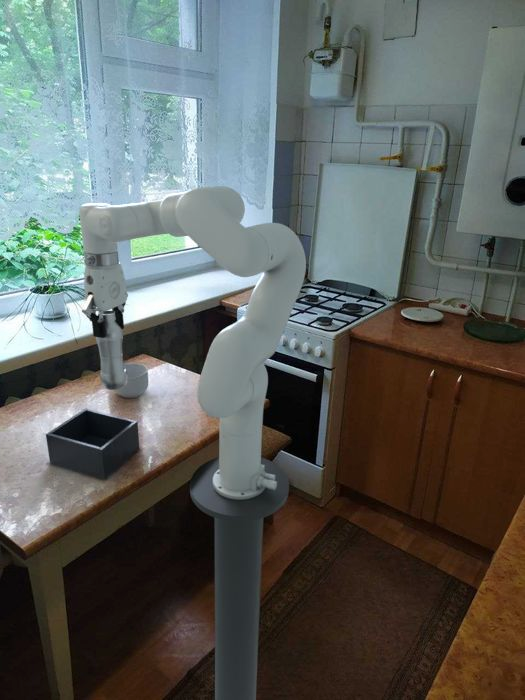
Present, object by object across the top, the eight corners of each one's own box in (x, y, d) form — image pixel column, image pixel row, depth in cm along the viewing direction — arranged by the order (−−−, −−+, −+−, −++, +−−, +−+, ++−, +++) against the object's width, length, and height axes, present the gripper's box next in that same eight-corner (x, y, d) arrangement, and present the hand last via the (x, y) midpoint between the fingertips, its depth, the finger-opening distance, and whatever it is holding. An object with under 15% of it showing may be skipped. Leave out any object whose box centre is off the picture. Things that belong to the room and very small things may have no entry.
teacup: (154, 396, 150) (153, 372, 147) (119, 405, 144) (117, 380, 141) (137, 379, 160) (136, 356, 157) (104, 386, 154) (102, 363, 151)
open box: (139, 449, 123) (137, 421, 120) (104, 480, 112) (101, 449, 109) (88, 435, 128) (85, 408, 125) (50, 463, 117) (45, 434, 114)
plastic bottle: (118, 395, 122) (110, 318, 115) (95, 390, 124) (86, 314, 117) (133, 384, 128) (126, 310, 121) (111, 380, 130) (103, 307, 123)
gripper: (89, 268, 105) (98, 346, 112) (137, 254, 120) (142, 324, 127) (61, 264, 108) (72, 341, 114) (112, 251, 123) (118, 320, 129)
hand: (109, 331), depth 121 cm, fingers closed on plastic bottle, 6 cm apart
